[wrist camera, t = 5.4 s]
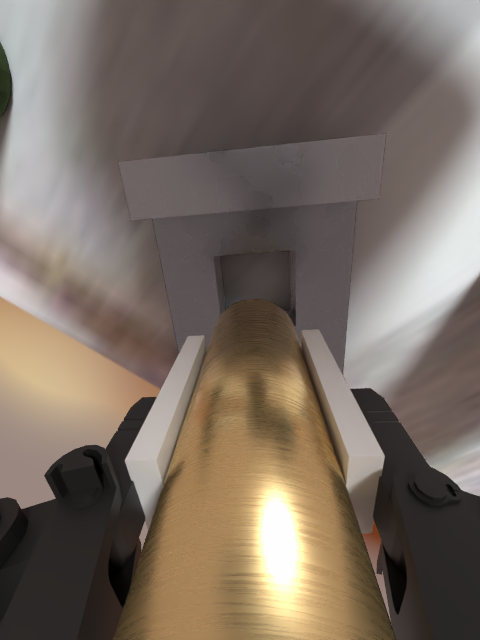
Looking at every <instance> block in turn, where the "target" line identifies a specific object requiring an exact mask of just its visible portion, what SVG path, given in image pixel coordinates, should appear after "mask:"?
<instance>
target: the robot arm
mask: <svg viewBox="0 0 480 640" xmlns="http://www.w3.org/2000/svg"><path fill="white" fill-rule="evenodd" d="M301 350H302V353H303V356H304V359H305V362H306V365H307V368H308V371H309V374H310V377H311V380H312V383H313V386H314V389H315V392H316V395H317V399H318V402H319V405H320V408H321V411H322V414H323V417H324V420H325V423H326V426H327V429H328V432H329V435H330V438H331V441H332V444H333V448H334V451H335V454H336V457H337V460H338V463H339V466H340V469H341V472H342V475H343V478H344V481H345V484H346V487H347V490H348V493H349V496H350V500H351V503H352V506H353V509H354V512H355V515H356V518H357V521H358V524H359V527H360V530H361V533H372V528H373V523H374V521H375V524H376V526H377V529H378V532H379V534H380V537H381V539H382V540H381V544H380V550H379V555H378V560H377V574H382V570H383V575H384V581H385V587H386V594H387V600H388V606H389V612H390V618H391V624H392V628H393V631H394V634H395V637H396V640H480V496H476V495H473V494H470V493H467V492H464V491H462V490H461V489H460V488H459V486H458V485H457V484H456V483H454V482H453V481H452V480H451V479H450V478H449V477H447V476H446V475H445V474H443V473H441V472H439V471H437V470H436V469H434V468H431V467H430V466H429V465H428V464H427V462H426V461H425V459H424V458H423V456H422V455H421V453H420V452H419V450H418V449H417V447H416V446H415V444H414V443H413V441H412V440H411V438H410V437H409V435H408V434H407V432H406V431H405V429H404V428H403V426H402V425H401V423H399V422H398V419H397V417H396V416H395V414H394V413H393V412H392V411H391V409H390V407H389V406H388V404H387V403H386V401H385V400H384V398H383V397H381V396H380V395H379V394H377V393H376V392H375V391H373V390H372V389H371V388H364V389H350V388H349V386H348V384H347V382H346V380H345V379H344V377H343V375H342V373H341V371H340V369H339V367H338V365H337V363H336V361H335V359H334V357H333V355H332V354H331V352H330V350H329V348H328V346H327V344H326V342H325V340H324V338H323V336H322V334H321V332H320V331H319V329H312V330H301ZM206 352H207V351H206V344H205V337H204V335H200V336H188V337H187V339H186V341H185V343H184V345H183V347H182V349H181V351H180V353H179V355H178V357H177V359H176V361H175V363H174V364H173V366H172V368H171V370H170V372H169V374H168V376H167V378H166V380H165V382H164V384H163V386H162V388H161V390H160V392H159V394H158V396H157V397H143V398H141V399H140V400H139V401H138V402H137V403H135V404H134V405H133V406H132V407H131V408H130V410H129V411H128V413H127V415H126V416H125V418H124V421H123V422H122V423H121V424H120V426H119V428H118V431H116V433H115V434H114V436H113V438H112V439H111V441H110V443H109V444H108V446H107V447H106V449H105V448H103V447H100V446H98V445H88V446H87V445H86V446H84V447H80V448H77V449H74V450H72V451H71V452H69V453H67V454H65V455H63V456H62V457H61V458H60V459H58V460H57V461H56V462H55V463H54V464H53V465H52V466H51V467H50V468H49V470H48V471H47V472H46V474H45V475H44V476H45V478H46V480H47V482H48V484H49V486H50V487H51V489H52V491H53V493H54V495H55V497H56V499H53V500H51V501H47V502H44V503H41V504H37V505H34V506H31V507H28V508H25V509H21V508H20V506H19V504H18V503H17V501H16V500H15V499H12V498H1V499H0V640H113V638H114V635H115V631H116V628H117V625H118V622H119V619H120V616H121V613H122V610H123V607H124V604H125V601H126V598H127V595H128V592H129V589H130V585H131V582H132V579H133V576H134V573H135V570H136V567H137V564H138V561H139V558H140V555H141V542H140V539H139V536H140V533H141V530H142V527H143V524H144V521H145V522H146V524H147V527H148V530H149V527H150V524H151V521H152V518H153V515H154V512H155V509H156V506H157V503H158V500H159V496H160V493H161V490H162V487H163V484H164V481H165V478H166V475H167V472H168V469H169V466H170V463H171V460H172V457H173V454H174V450H175V447H176V444H177V441H178V438H179V435H180V432H181V429H182V426H183V423H184V420H185V417H186V414H187V411H188V408H189V404H190V401H191V398H192V395H193V392H194V389H195V386H196V383H197V380H198V377H199V374H200V371H201V368H202V365H203V361H204V358H205V355H206Z"/></svg>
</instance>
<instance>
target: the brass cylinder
mask: <svg viewBox="0 0 480 640" xmlns="http://www.w3.org/2000/svg"><path fill="white" fill-rule="evenodd" d="M113 640H396V637H395V634H394V631H393V628H392V625H391V622H390V619H389V616H388V613H387V610H386V607H385V604H384V601H383V598H382V594H381V591H380V588H379V585H378V583H377V579H376V576H375V573H374V570H373V567H372V564H371V561H370V558H369V555H368V552H367V549H366V545H365V542H364V540H363V536H362V533H361V530H360V527H359V524H358V521H357V518H356V515H355V512H354V509H353V506H352V503H351V500H350V496H349V493H348V490H347V487H346V484H345V481H344V478H343V475H342V472H341V469H340V466H339V463H338V460H337V457H336V454H335V451H334V448H333V444H332V441H331V438H330V435H329V432H328V429H327V426H326V423H325V420H324V417H323V414H322V411H321V408H320V405H319V402H318V399H317V395H316V392H315V389H314V386H313V383H312V380H311V377H310V374H309V371H308V368H307V365H306V362H305V359H304V356H303V353H302V350H301V347H300V343H299V340H298V337H297V334H296V331H295V328H294V325H293V323H292V320H291V319H290V317H289V316H288V314H287V313H286V312H285V311H284V310H283V309H282V308H281V307H279V306H278V305H276V304H274V303H272V302H269V301H266V300H262V299H247V300H243V301H239V302H237V303H235V304H233V305H231V306H230V307H228V308H227V309H226V310H225V311H224V312H223V313H222V314H221V315H220V317H219V318H218V320H217V322H216V325H215V328H214V331H213V334H212V337H211V340H210V343H209V346H208V349H207V352H206V355H205V358H204V361H203V365H202V368H201V371H200V374H199V377H198V380H197V383H196V386H195V389H194V392H193V395H192V398H191V401H190V404H189V408H188V411H187V414H186V417H185V420H184V423H183V426H182V429H181V432H180V435H179V438H178V441H177V444H176V447H175V450H174V454H173V457H172V460H171V463H170V466H169V469H168V472H167V475H166V478H165V481H164V484H163V487H162V490H161V493H160V496H159V500H158V503H157V506H156V509H155V512H154V515H153V518H152V521H151V524H150V527H149V530H148V533H147V536H146V539H145V543H144V546H143V549H142V552H141V555H140V558H139V561H138V564H137V567H136V570H135V573H134V576H133V579H132V582H131V585H130V589H129V592H128V595H127V598H126V601H125V604H124V607H123V610H122V613H121V616H120V619H119V622H118V625H117V628H116V631H115V635H114V638H113Z"/></svg>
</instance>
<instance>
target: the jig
mask: <svg viewBox="0 0 480 640" xmlns="http://www.w3.org/2000/svg"><path fill="white" fill-rule="evenodd" d="M385 141H386V133H384V134H374V135H365V136H356V137H346V138H337V139H327V140H318V141H308V142H299V143H290V144H280V145H271V146H261V147H252V148H242V149H233V150H224V151H214V152H205V153H195V154H186V155H176V156H167V157H158V158H148V159H139V160H129V161H120V162H118V165H119V170H120V174H121V178H122V183H123V187H124V192H125V196H126V201H127V205H128V209H129V214H130V218H131V220H142V219H152V220H153V225H154V230H155V235H156V240H157V245H158V250H159V255H160V261H161V266H162V271H163V276H164V281H165V286H166V291H167V296H168V301H169V306H170V311H171V316H172V322H173V327H174V332H175V337H176V342H177V347H178V352H179V353H180V351H181V349H182V347H183V345H184V343H185V341H186V339H187V337H188V336H200V335H204V337H205V344H206V351H207V349H208V346H209V343H210V340H211V337H212V334H213V331H214V328H215V325H216V322H217V320H218V318H219V317H220V315H221V314H222V313H223V312H224V311H225V310H226V306H225V297H224V288H223V279H222V270H221V261H220V256H223V255H237V254H250V253H264V252H277V251H290V277H291V310H285V312H286V313H287V314H288V316H289V317H290V319H291V320H292V323H293V325H294V328H295V331H296V334H297V337H298V340H299V343H300V347H301V330H312V329H319V331H320V332H321V334H322V336H323V338H324V340H325V342H326V344H327V346H328V348H329V350H330V352H331V354H332V355H333V357H334V359H335V361H336V363H337V365H338V367H339V369H340V371H341V373H342V375H343V367H344V355H345V343H346V330H347V318H348V305H349V293H350V281H351V268H352V256H353V243H354V231H355V219H356V206H357V201H360V200H371V199H379V195H380V186H381V177H382V168H383V159H384V150H385Z"/></svg>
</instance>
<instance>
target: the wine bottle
mask: <svg viewBox="0 0 480 640" xmlns="http://www.w3.org/2000/svg"><path fill="white" fill-rule="evenodd" d="M9 97H10V71H9V67H8V63H7V59H6V55H5V51H4V49H3V47H2V45H1V43H0V116H1V115H2V114H3V113H4V112H5V110H6V107H7V103H8V100H9Z"/></svg>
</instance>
